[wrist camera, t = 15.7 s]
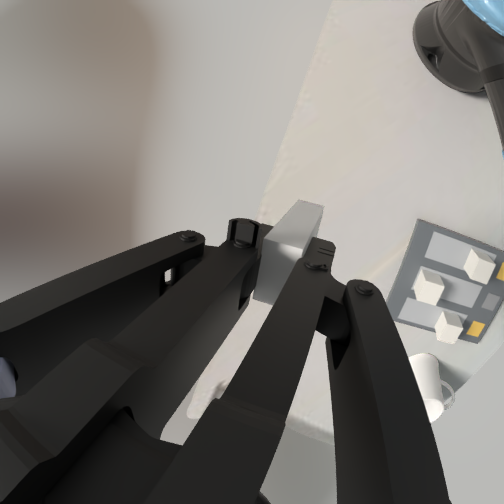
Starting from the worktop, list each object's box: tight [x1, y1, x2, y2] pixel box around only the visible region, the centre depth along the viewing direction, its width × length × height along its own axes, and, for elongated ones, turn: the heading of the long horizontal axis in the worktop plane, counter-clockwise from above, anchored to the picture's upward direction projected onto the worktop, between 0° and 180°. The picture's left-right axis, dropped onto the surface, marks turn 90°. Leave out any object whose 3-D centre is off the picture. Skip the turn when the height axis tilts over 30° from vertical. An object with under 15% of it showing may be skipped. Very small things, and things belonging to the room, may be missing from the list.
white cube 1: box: [463, 248, 496, 285], centre depth 36 cm, size 4×4×4 cm
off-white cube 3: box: [434, 311, 463, 344], centre depth 42 cm, size 4×4×4 cm
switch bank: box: [386, 219, 504, 344], centre depth 42 cm, size 18×22×1 cm
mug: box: [408, 353, 455, 423], centre depth 44 cm, size 12×8×12 cm
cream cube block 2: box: [414, 269, 445, 306], centre depth 41 cm, size 4×4×4 cm
